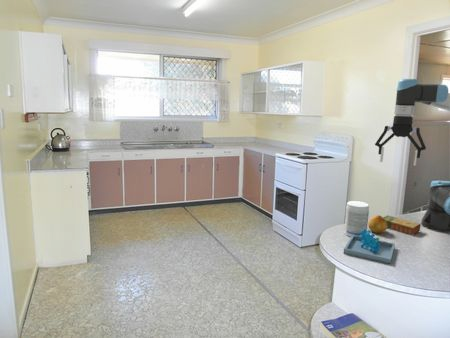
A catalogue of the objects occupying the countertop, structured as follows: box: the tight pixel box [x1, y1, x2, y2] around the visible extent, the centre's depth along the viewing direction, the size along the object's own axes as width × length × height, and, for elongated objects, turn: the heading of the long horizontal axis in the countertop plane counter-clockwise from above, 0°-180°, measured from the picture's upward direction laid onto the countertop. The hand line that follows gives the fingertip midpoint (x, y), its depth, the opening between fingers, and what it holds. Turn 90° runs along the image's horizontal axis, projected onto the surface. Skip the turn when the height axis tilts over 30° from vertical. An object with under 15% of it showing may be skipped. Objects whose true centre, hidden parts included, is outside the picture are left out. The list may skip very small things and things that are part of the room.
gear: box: [360, 229, 380, 253], centre depth 146 cm, size 11×6×10 cm
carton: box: [382, 215, 421, 236], centre depth 171 cm, size 8×16×4 cm, turn 41°
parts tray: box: [343, 235, 396, 265], centre depth 145 cm, size 17×17×2 cm
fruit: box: [367, 215, 388, 234], centre depth 166 cm, size 8×8×8 cm
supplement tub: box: [344, 200, 370, 238], centre depth 160 cm, size 10×10×15 cm
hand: (397, 163), depth 159 cm, fingers open, 13 cm apart
